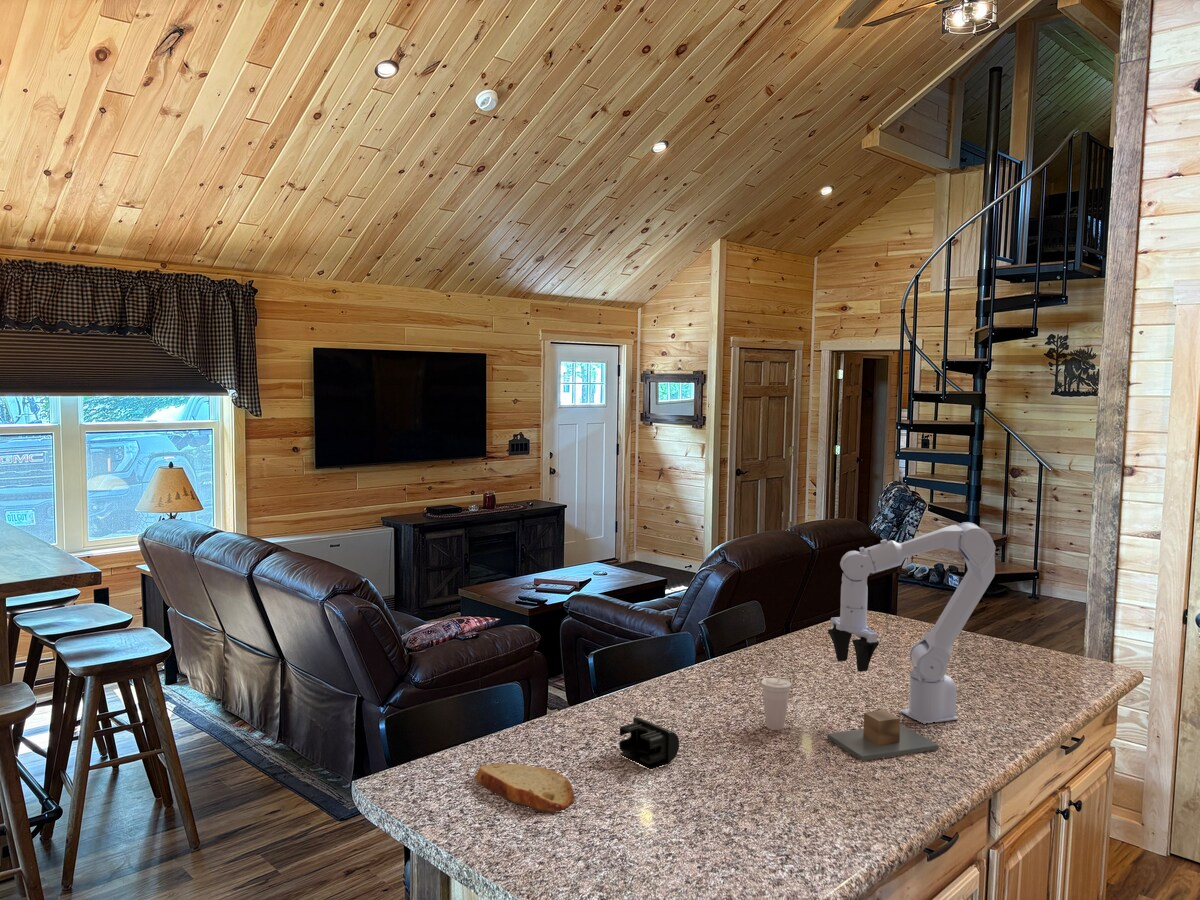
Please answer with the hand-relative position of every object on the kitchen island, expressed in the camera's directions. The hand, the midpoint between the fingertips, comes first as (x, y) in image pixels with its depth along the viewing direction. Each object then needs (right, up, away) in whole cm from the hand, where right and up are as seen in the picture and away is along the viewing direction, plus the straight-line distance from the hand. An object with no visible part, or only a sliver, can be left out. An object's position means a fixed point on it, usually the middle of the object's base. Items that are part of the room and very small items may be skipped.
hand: (852, 665), depth 201 cm
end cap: (-47, -12, -26) cm, 55 cm away
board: (+1, -12, -18) cm, 21 cm away
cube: (+1, -11, -18) cm, 21 cm away
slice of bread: (-70, -13, -40) cm, 82 cm away
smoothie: (-19, -11, -9) cm, 24 cm away
